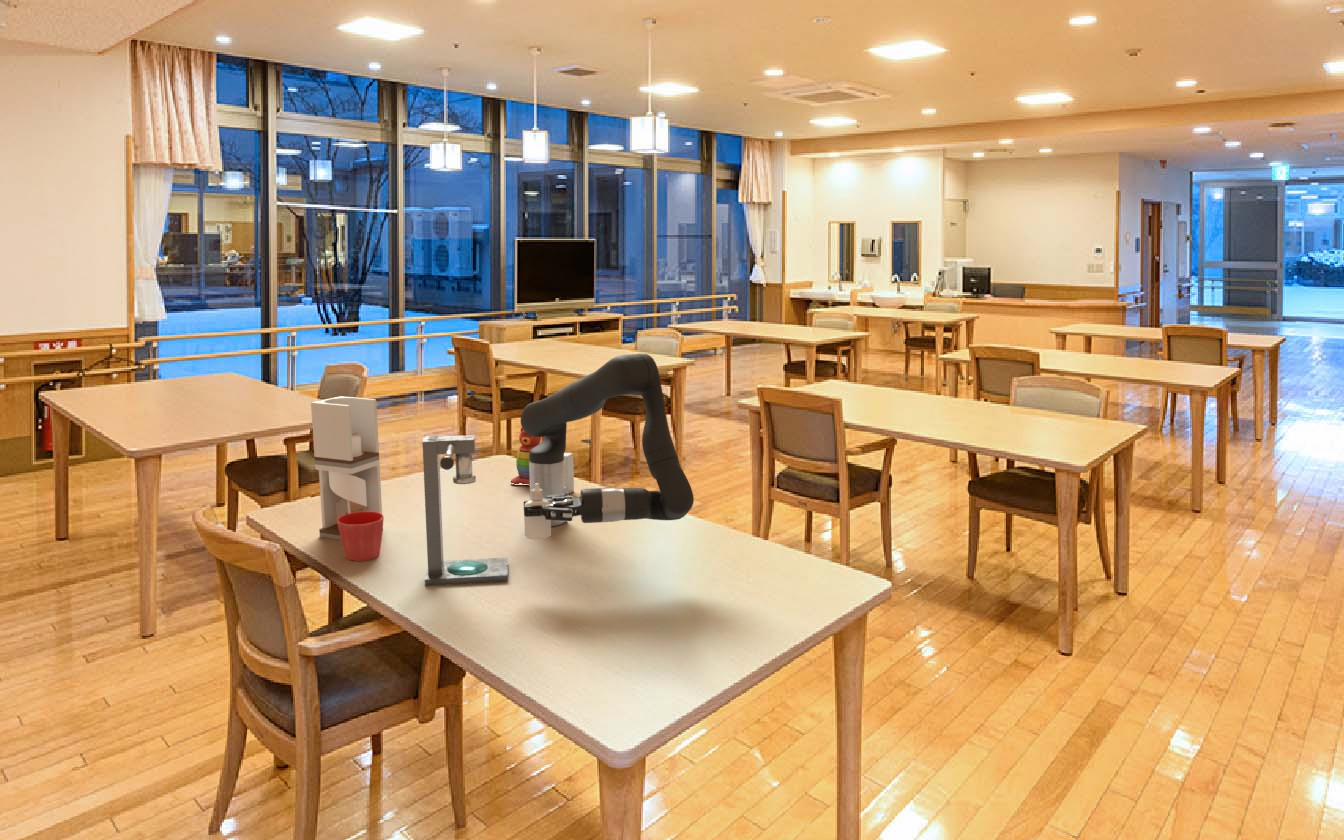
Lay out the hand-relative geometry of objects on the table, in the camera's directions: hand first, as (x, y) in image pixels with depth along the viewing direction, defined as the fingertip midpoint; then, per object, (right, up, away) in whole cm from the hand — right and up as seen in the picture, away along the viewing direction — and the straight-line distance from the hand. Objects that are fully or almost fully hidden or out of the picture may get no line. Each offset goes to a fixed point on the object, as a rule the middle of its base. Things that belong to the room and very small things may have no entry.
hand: (524, 508), depth 205 cm
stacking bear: (-12, -1, +92) cm, 93 cm away
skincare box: (-1, -3, +81) cm, 82 cm away
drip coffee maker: (-51, -11, +40) cm, 66 cm away
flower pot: (-43, -14, +23) cm, 50 cm away
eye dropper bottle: (+3, -7, +2) cm, 7 cm away
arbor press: (-14, -17, +5) cm, 23 cm away
